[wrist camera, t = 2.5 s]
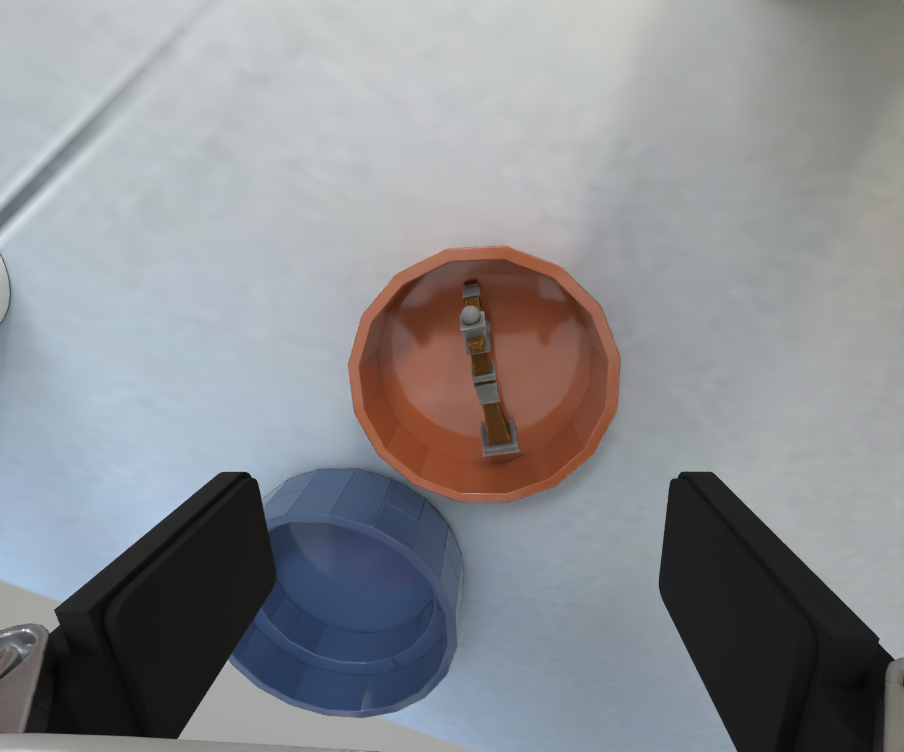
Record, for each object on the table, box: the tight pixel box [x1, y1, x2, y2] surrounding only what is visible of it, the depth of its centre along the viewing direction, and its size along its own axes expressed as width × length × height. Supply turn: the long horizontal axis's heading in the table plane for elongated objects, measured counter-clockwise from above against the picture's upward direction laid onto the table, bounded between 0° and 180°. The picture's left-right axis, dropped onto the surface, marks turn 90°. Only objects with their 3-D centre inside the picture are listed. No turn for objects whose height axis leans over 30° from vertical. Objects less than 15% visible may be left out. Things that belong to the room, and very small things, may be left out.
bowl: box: [228, 469, 463, 718], centre depth 23 cm, size 13×13×4 cm
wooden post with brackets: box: [460, 279, 520, 457], centre depth 19 cm, size 2×8×4 cm, turn 12°
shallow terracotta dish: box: [348, 246, 621, 503], centre depth 19 cm, size 11×11×3 cm
